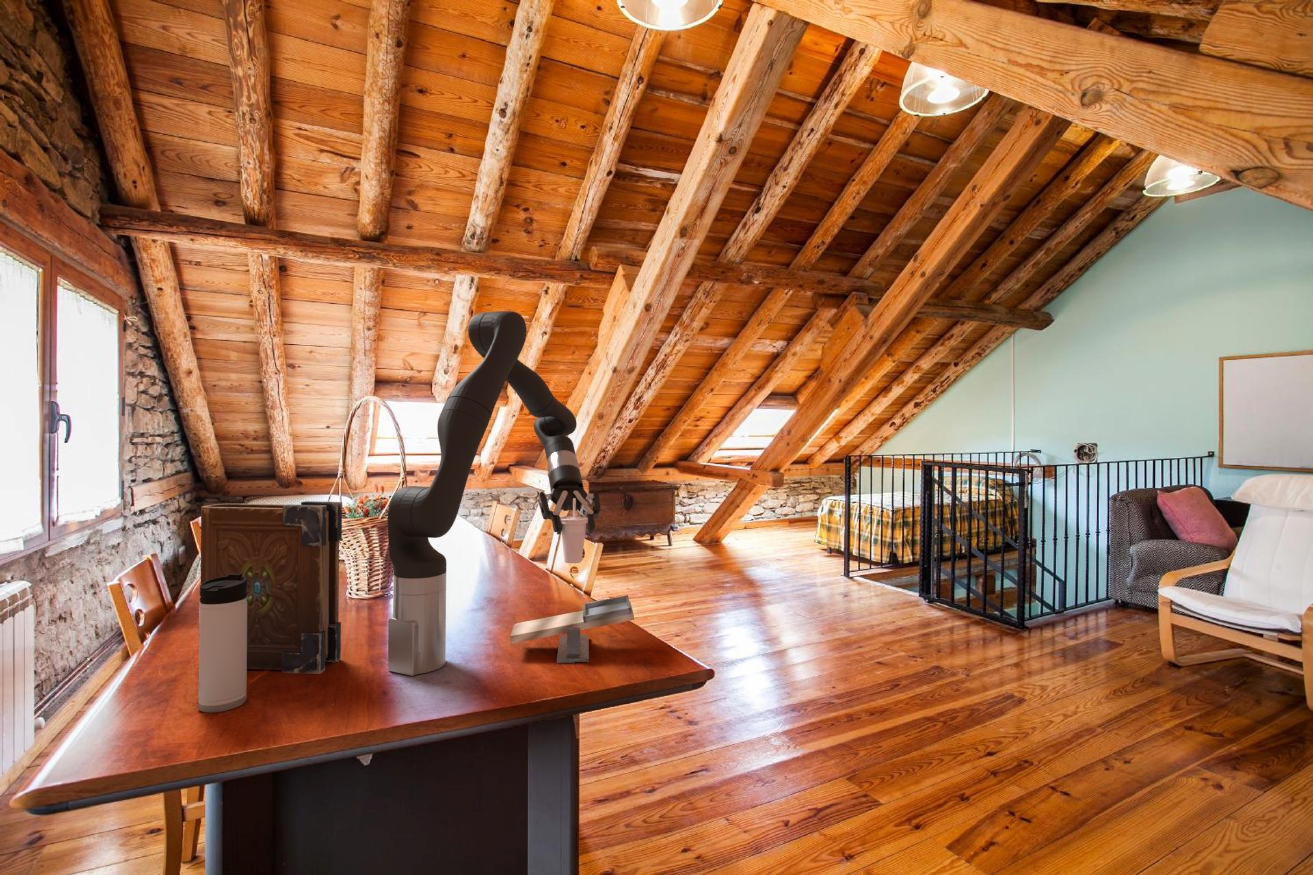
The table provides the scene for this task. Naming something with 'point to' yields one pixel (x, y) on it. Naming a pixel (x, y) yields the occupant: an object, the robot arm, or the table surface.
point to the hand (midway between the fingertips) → (575, 531)
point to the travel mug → (222, 643)
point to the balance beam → (575, 619)
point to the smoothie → (573, 536)
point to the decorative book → (281, 578)
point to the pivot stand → (573, 647)
